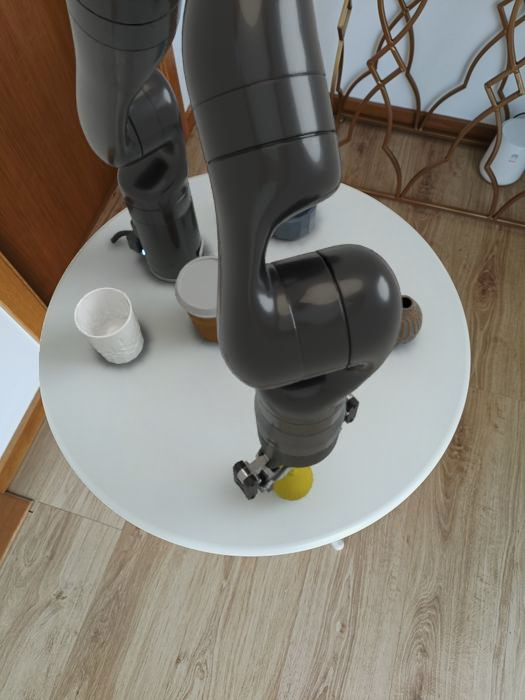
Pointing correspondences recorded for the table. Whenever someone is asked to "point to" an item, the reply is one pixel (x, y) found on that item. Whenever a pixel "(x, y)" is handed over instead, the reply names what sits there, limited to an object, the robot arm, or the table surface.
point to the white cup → (110, 324)
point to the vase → (409, 321)
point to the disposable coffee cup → (200, 294)
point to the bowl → (297, 225)
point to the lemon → (294, 484)
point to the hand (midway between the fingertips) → (295, 460)
